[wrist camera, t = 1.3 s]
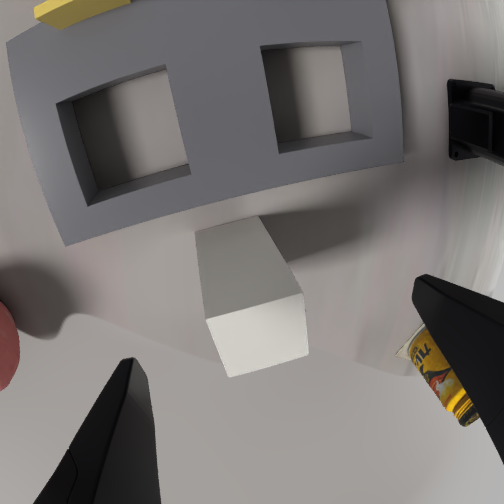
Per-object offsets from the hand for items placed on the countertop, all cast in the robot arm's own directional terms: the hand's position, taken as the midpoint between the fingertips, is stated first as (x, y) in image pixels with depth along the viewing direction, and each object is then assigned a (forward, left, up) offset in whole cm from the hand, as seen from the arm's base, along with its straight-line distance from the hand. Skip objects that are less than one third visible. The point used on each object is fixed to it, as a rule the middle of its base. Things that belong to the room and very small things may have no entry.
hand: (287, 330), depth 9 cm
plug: (0, +4, -11) cm, 12 cm away
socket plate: (-1, -7, -11) cm, 13 cm away
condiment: (-20, +21, -11) cm, 31 cm away
